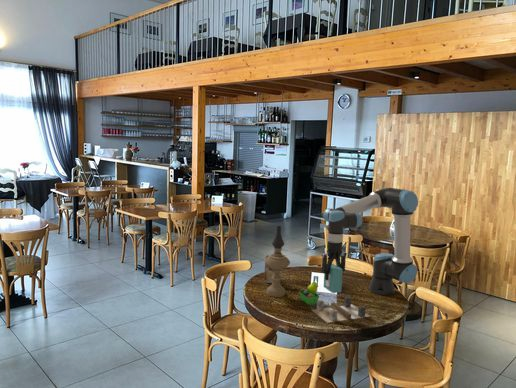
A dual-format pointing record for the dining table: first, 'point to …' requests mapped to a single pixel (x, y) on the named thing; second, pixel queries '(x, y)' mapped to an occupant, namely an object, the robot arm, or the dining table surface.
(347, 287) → the dining table surface
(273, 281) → the oil lamp
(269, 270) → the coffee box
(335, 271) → the teal box
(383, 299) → the dining table surface
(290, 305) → the dining table surface
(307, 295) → the fruit basket
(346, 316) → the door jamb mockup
